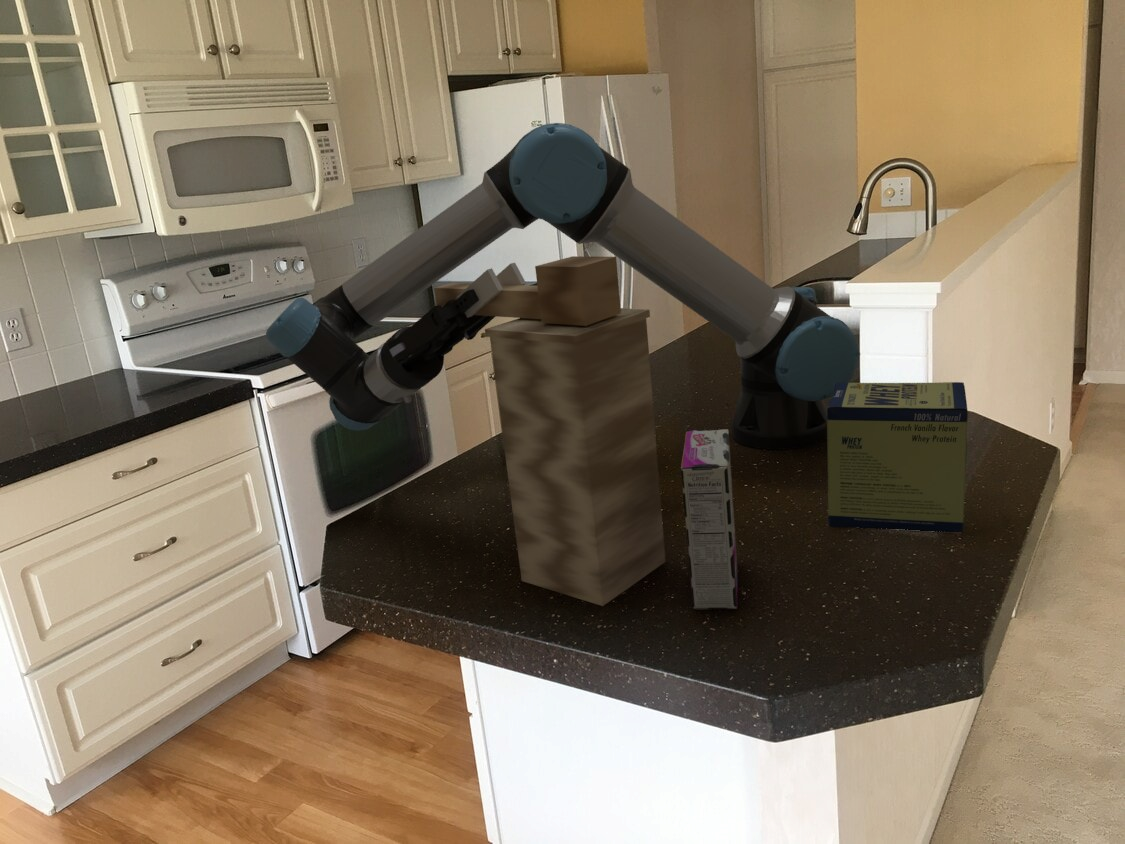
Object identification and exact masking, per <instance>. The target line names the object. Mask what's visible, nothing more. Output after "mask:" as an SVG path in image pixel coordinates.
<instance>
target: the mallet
mask: <svg viewBox="0 0 1125 844" xmlns="http://www.w3.org/2000/svg"><path fill="white" fill-rule="evenodd" d="M534 268H535V276H536V284H537V285H528V284H527V285H526V284H525V285H501V286H502V288H503V290H502V291H501V292H500V293H499V294H498V295H496V296H495V297H494V298H493V299H492V300H491V301H489V302H488V303H487V304H486V305H485V306H483V307H482V308H481V309H480V310H479V311H478V312H476V313H475V314H474V315H481V316H496V317H498V318H515V319H519V318H529V319H541V322H542V323H549V324H564V325H579V326H587V325H590V324H592V323H595V322H598V321H601V320H604V319H607V318H609V317H612V316H615V315H618V314H621V308H622V307H621V297H620V285H619V284H620V283H619V275H618V263H617V256H583V255H582V256H580V255H579V256H569V257H568V256H567V257H565V258H562V259H557V260H554V261H553V260H552V261H550V262H546V263H542V264H538V265H535V266H534ZM470 284H471V283H465V282H464V283H463V282H459V283H458V282H451V283H446V284H443V285H440V286H435V287H433V291H434V298H435V303H436V305H435V306H438V305H441V307H443V306H444V305H445V304H446V303H447V302H448V301H449V300H453V299H455V300H457V296H458V295H459V294H460V293H462V292H463V291H464V290H465V289H466V288H467V287H468V286H469V285H470ZM464 314H465V313H464Z"/></svg>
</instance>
